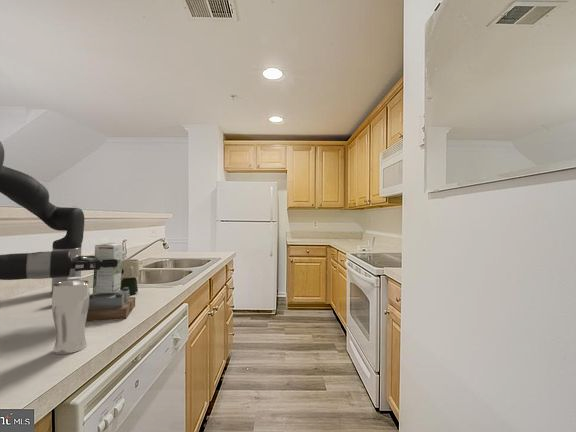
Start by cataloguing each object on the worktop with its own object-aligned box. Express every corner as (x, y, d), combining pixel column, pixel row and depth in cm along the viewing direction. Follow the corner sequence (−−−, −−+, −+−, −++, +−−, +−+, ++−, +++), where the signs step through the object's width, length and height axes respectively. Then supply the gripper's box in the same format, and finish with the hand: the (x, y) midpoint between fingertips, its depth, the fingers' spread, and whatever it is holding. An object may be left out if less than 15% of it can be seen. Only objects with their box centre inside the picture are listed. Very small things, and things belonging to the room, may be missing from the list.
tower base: (91, 308, 96) (91, 287, 96) (135, 305, 100) (135, 285, 100) (74, 322, 84) (75, 298, 84) (126, 318, 88) (126, 295, 88)
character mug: (116, 292, 118) (117, 259, 118) (136, 289, 122) (137, 258, 122) (120, 298, 109) (120, 263, 109) (141, 295, 113) (142, 261, 113)
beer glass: (47, 358, 63) (48, 287, 63) (55, 345, 69) (56, 281, 69) (86, 351, 66) (87, 284, 66) (90, 340, 72) (91, 278, 72)
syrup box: (102, 288, 95) (104, 242, 95) (121, 288, 95) (123, 243, 95) (92, 292, 89) (93, 244, 89) (113, 292, 89) (114, 244, 89)
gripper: (47, 254, 78) (118, 251, 87) (52, 248, 90) (114, 247, 99) (46, 282, 78) (118, 277, 87) (51, 273, 90) (114, 269, 99)
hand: (116, 261), depth 93 cm, fingers closed on syrup box, 7 cm apart
